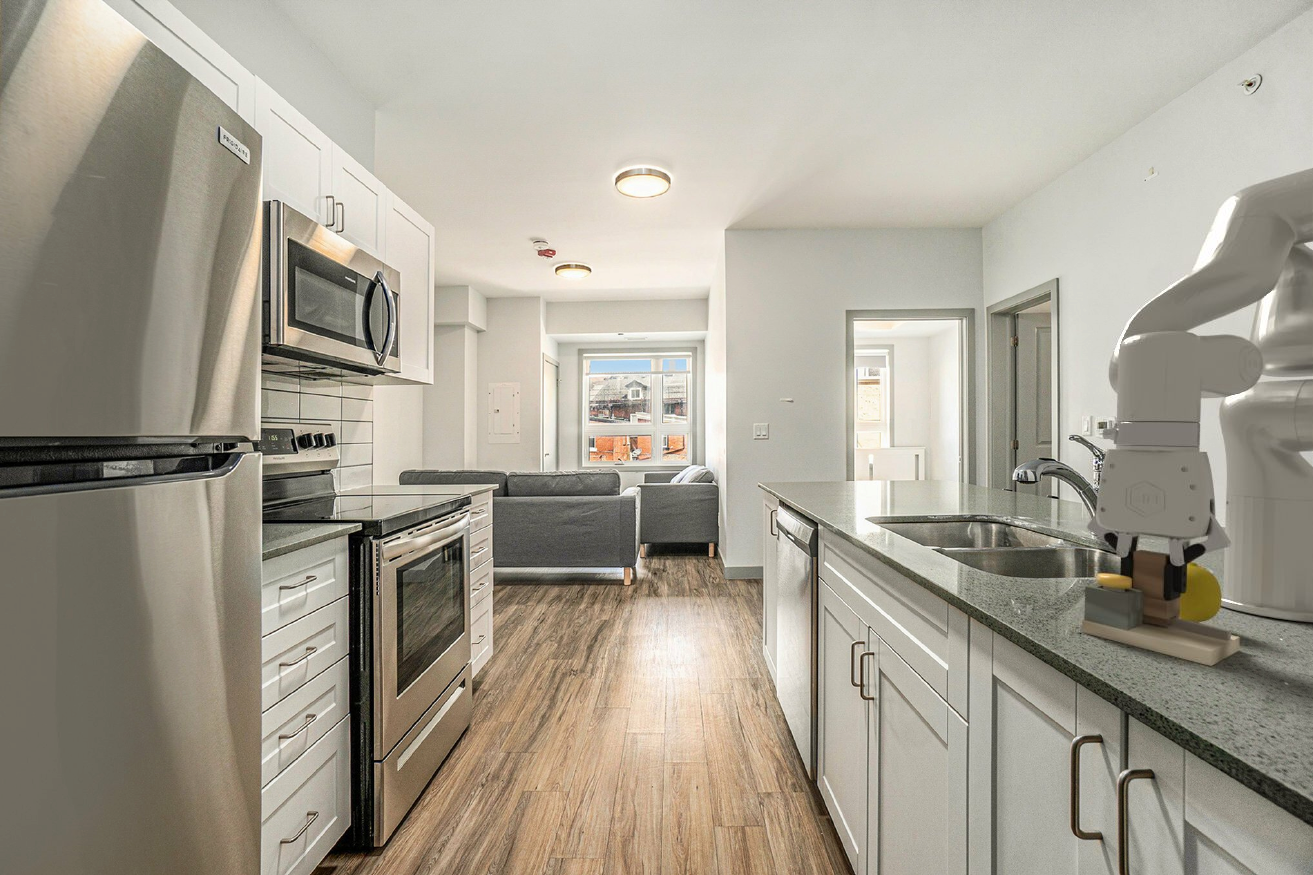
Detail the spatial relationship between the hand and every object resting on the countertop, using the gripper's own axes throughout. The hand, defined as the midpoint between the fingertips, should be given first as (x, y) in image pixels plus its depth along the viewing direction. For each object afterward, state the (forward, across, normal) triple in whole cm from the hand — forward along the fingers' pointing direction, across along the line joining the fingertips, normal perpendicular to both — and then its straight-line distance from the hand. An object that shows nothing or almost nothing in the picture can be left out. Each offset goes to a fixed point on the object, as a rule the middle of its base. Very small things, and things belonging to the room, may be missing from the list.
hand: (1152, 592), depth 69 cm
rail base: (+5, +1, -2) cm, 6 cm away
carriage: (+3, 0, 0) cm, 3 cm away
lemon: (+5, +1, +9) cm, 10 cm away
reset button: (+3, -2, -4) cm, 6 cm away
